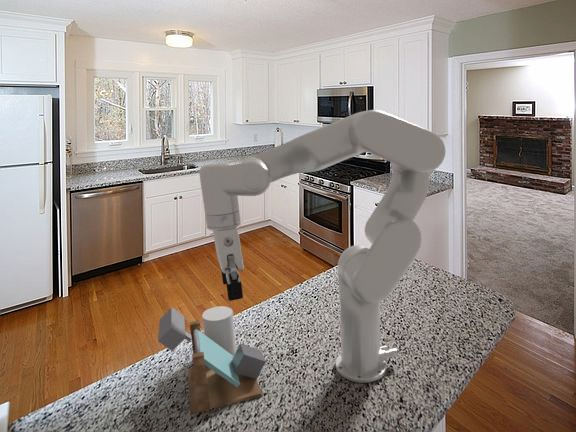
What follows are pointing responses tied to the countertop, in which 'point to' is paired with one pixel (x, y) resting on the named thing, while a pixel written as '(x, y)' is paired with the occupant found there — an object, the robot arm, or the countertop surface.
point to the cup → (220, 327)
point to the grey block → (248, 361)
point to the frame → (215, 384)
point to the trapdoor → (196, 345)
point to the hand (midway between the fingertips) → (232, 290)
